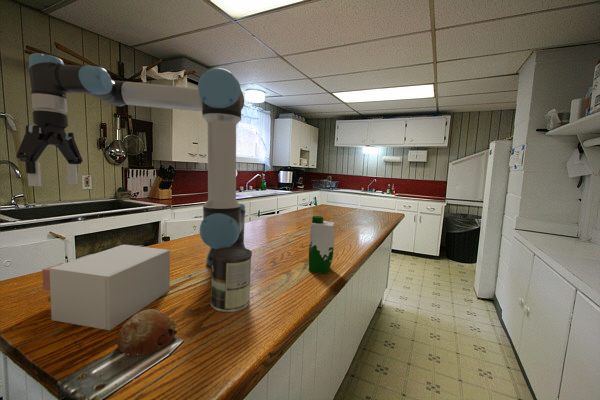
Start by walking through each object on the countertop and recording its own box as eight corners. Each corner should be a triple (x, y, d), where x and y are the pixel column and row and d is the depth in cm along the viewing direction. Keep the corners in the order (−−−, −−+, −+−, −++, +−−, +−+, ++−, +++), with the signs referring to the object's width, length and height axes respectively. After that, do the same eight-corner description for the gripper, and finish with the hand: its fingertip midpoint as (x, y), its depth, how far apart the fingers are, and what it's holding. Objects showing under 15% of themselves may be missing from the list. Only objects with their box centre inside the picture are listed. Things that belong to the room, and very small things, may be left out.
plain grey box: (169, 290, 77) (169, 250, 76) (109, 330, 58) (108, 276, 56) (123, 283, 80) (123, 244, 78) (51, 319, 60) (49, 268, 59)
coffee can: (204, 311, 68) (205, 256, 66) (218, 292, 78) (219, 245, 76) (244, 314, 67) (247, 259, 66) (253, 295, 78) (255, 247, 76)
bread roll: (144, 341, 60) (128, 310, 59) (187, 323, 61) (171, 292, 60) (118, 374, 51) (98, 338, 49) (169, 353, 51) (150, 317, 50)
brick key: (117, 290, 66) (117, 270, 66) (101, 298, 62) (100, 277, 61) (62, 282, 69) (61, 263, 68) (43, 289, 64) (42, 269, 64)
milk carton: (309, 264, 106) (313, 214, 104) (332, 267, 105) (336, 216, 103) (305, 272, 98) (309, 218, 96) (330, 275, 96) (335, 220, 94)
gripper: (69, 120, 90) (73, 183, 92) (-9, 100, 66) (-2, 186, 68) (93, 121, 91) (96, 183, 93) (24, 101, 66) (30, 187, 68)
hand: (55, 185), depth 80 cm, fingers open, 13 cm apart
